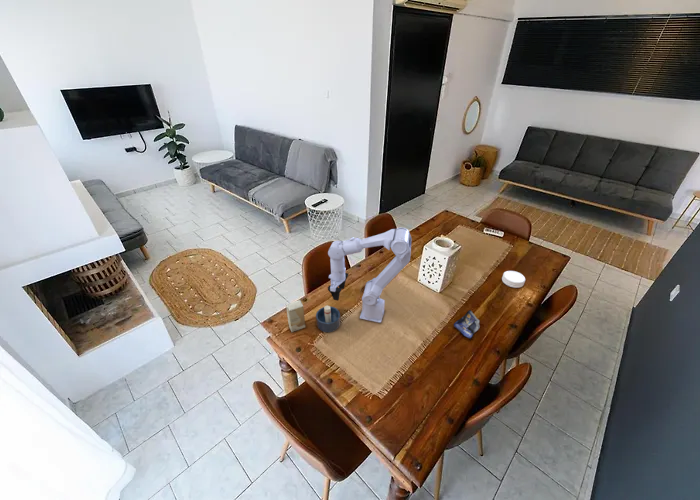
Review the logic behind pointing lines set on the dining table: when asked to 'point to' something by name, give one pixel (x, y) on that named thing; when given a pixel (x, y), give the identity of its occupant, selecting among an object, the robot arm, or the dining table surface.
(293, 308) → the cosmetic box
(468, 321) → the snack package
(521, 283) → the white round disc
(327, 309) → the dowel
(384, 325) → the dining table surface
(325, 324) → the holder
